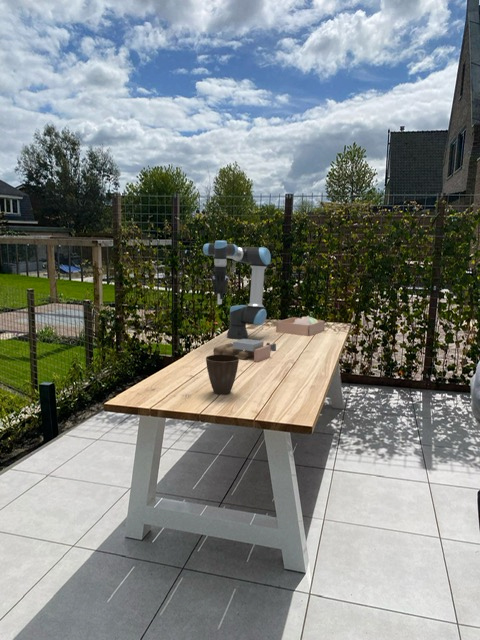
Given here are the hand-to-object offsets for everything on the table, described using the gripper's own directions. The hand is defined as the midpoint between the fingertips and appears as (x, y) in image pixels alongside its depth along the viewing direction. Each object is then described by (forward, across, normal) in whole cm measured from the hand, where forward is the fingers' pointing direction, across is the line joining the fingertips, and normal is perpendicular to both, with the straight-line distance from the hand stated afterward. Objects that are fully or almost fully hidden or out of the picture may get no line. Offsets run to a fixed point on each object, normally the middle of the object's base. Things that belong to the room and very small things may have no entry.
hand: (219, 304), depth 305 cm
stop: (+29, +34, -4) cm, 45 cm away
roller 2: (+30, +13, -4) cm, 33 cm away
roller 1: (+30, +6, -4) cm, 31 cm away
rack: (+29, +26, +14) cm, 42 cm away
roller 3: (+30, +24, -4) cm, 39 cm away
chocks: (+29, +16, -4) cm, 34 cm away
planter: (+29, +12, +97) cm, 102 cm away
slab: (+24, +24, -4) cm, 34 cm away
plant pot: (+30, +50, -72) cm, 93 cm away
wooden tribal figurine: (+30, +11, +101) cm, 106 cm away
